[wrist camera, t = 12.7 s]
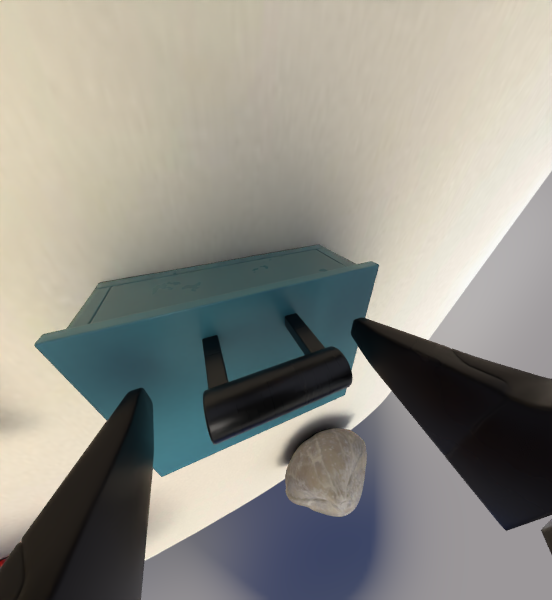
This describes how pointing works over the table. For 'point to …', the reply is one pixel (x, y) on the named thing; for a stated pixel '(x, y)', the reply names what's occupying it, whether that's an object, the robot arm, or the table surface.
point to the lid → (222, 360)
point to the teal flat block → (202, 282)
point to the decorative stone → (328, 472)
